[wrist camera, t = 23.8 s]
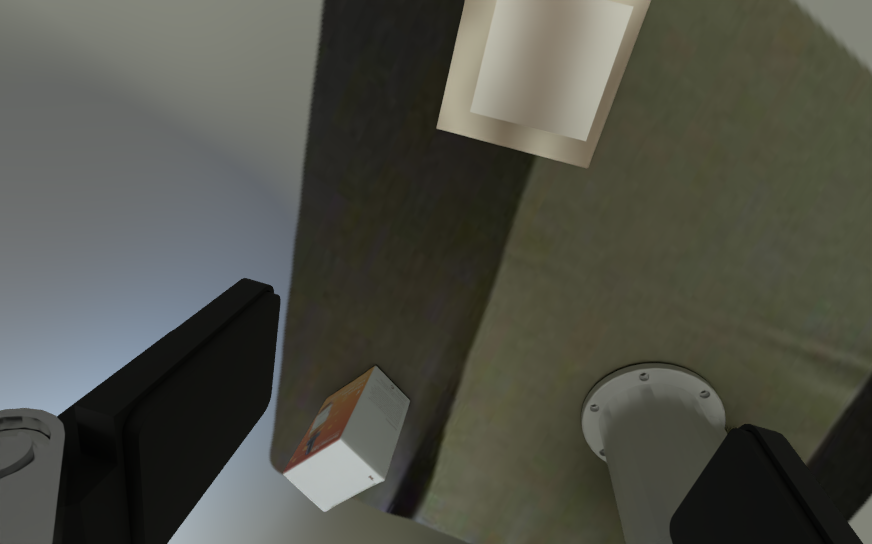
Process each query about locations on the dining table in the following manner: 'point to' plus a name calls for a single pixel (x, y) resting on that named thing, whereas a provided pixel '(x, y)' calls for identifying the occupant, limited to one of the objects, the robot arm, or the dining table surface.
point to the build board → (510, 134)
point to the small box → (349, 441)
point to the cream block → (549, 62)
